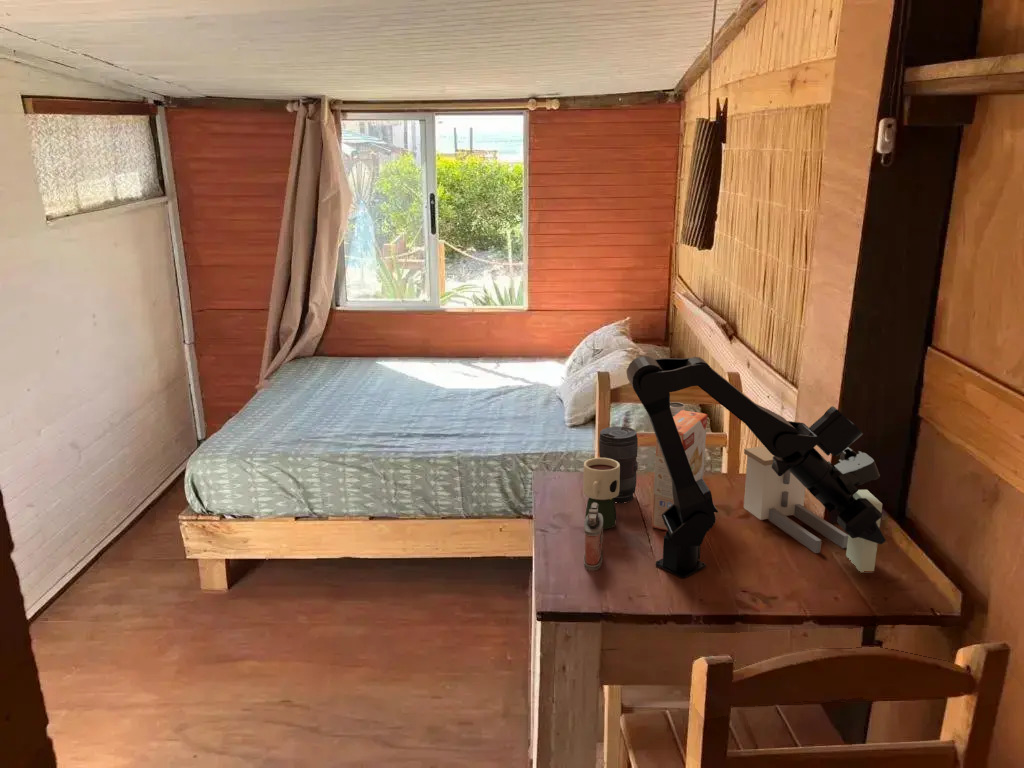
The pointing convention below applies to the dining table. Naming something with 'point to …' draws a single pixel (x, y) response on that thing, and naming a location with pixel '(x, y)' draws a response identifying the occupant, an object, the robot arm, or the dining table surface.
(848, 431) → the robot arm
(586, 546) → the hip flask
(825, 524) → the cabinet
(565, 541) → the dining table surface
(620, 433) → the camera lens
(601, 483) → the character mug
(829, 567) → the dining table surface
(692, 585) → the dining table surface
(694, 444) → the cracker box
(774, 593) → the dining table surface
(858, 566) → the rectangular block
